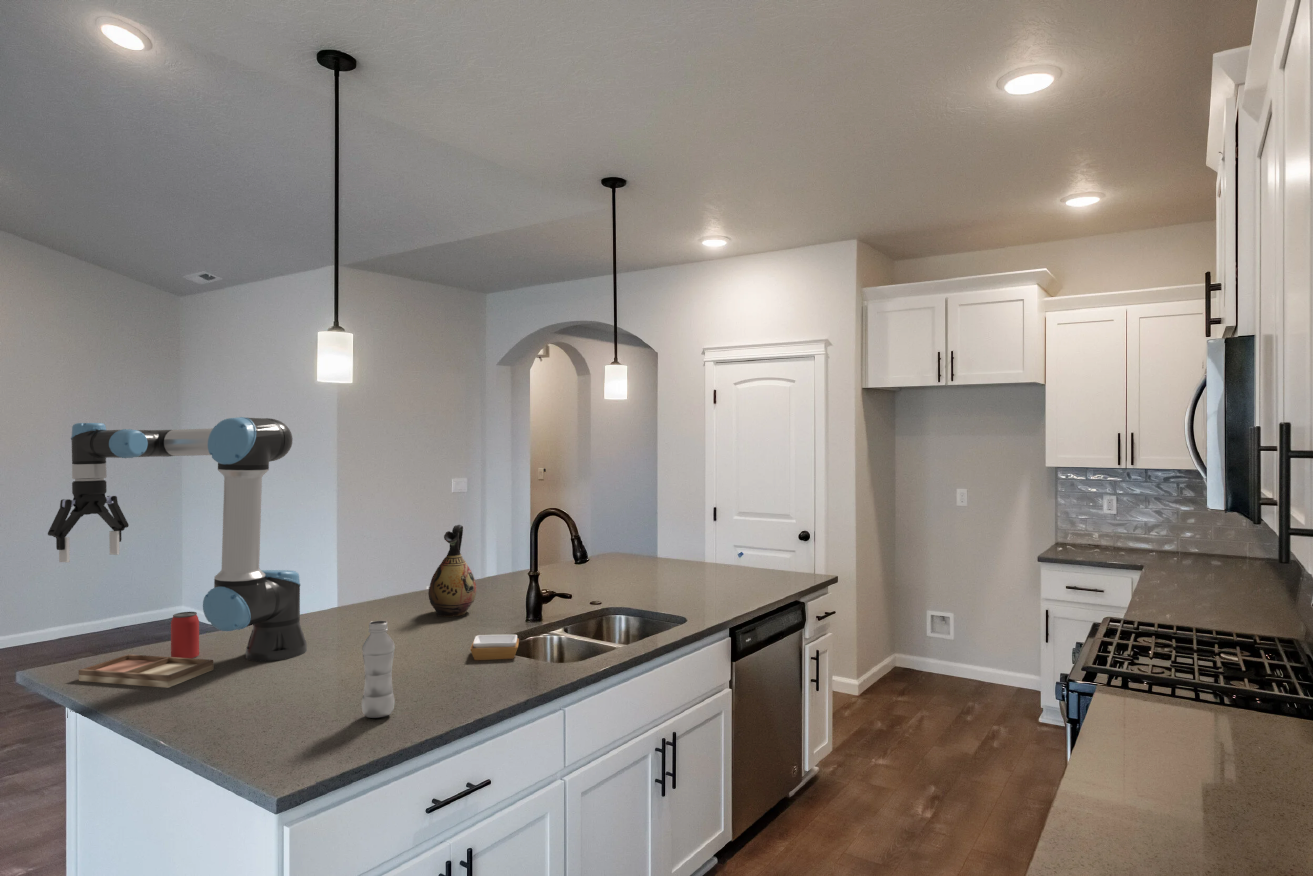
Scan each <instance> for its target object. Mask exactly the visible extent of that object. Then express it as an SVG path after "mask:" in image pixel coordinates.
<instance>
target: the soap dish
mask: <svg viewBox="0 0 1313 876" xmlns="http://www.w3.org/2000/svg"><path fill="white" fill-rule="evenodd" d="M519 643H520V638H518V635H517V634H478V635H475V636H474V640H473V641H472V643H471V646H470V649H469V650H470V652H471V655H472V658H473V660H474V661H486V660H487V661H488V660H511V659H512V660H513V659H515V656H516V653H517V650H518V648H519Z"/></svg>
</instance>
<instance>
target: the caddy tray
mask: <svg viewBox="0 0 1313 876" xmlns="http://www.w3.org/2000/svg"><path fill="white" fill-rule="evenodd" d="M211 671H214V659H203V658H178V657H171V656H160V655H147V654H143V655H142V654H132V653H131V654H124V655H122V656H119V657H116V658H112V659H109V660H106V661H103V662H100V663H97V664H93V665H91V666H88V667H87V666H86V667H84V668H81V669H79V670H78V681H79V682H89V683H90V682H92V683H100V684H101V683H103V684H113V685H114V684H116V685H117V684H118V685H128V686H141V687H143V686H144V687H153V688H154V687H155V688H167V689H168V688H171V687H174V686H176V685H178V684H181V683H184V682H186V681H188V680H189V681H190V680H191V679H194V678H197V677H199V676H201V675H203V674H206V673H209V672H211Z"/></svg>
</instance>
